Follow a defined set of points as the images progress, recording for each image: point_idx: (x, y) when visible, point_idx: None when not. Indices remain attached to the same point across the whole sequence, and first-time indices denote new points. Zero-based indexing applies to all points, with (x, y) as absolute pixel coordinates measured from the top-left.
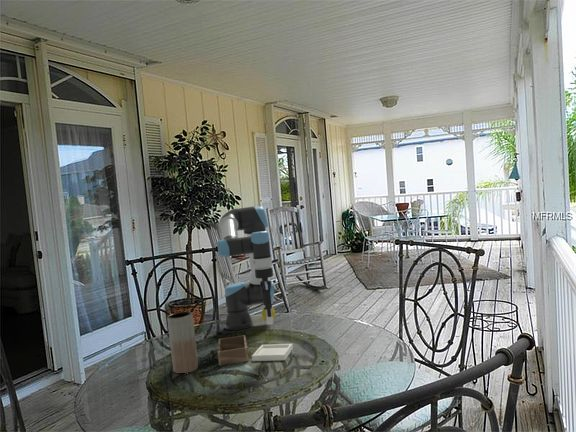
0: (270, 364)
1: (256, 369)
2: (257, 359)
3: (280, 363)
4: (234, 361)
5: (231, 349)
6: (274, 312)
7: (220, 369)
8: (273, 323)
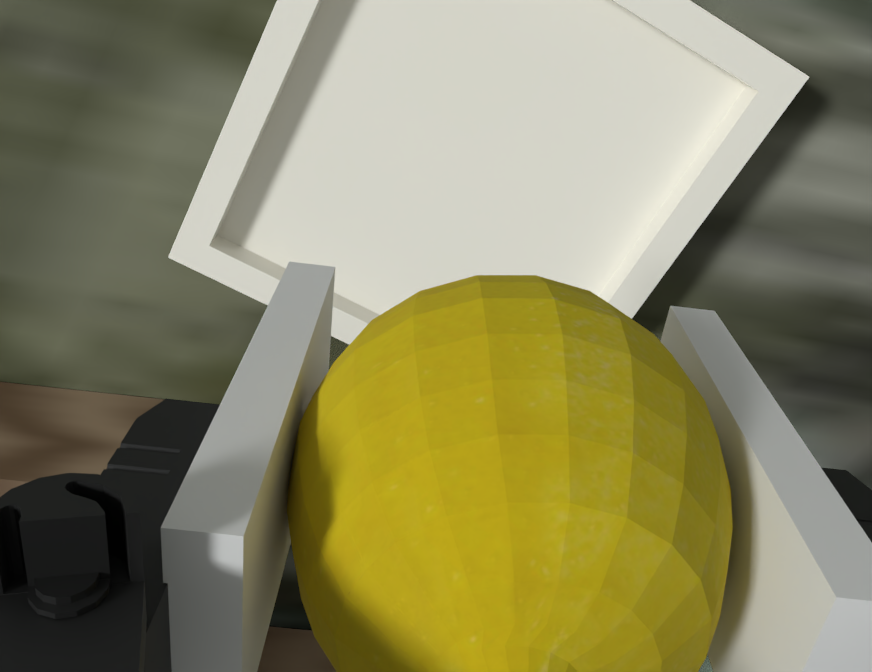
0: (785, 256)
1: (817, 409)
2: None
3: (843, 144)
4: None
5: None
6: (646, 357)
7: None
8: (718, 316)
